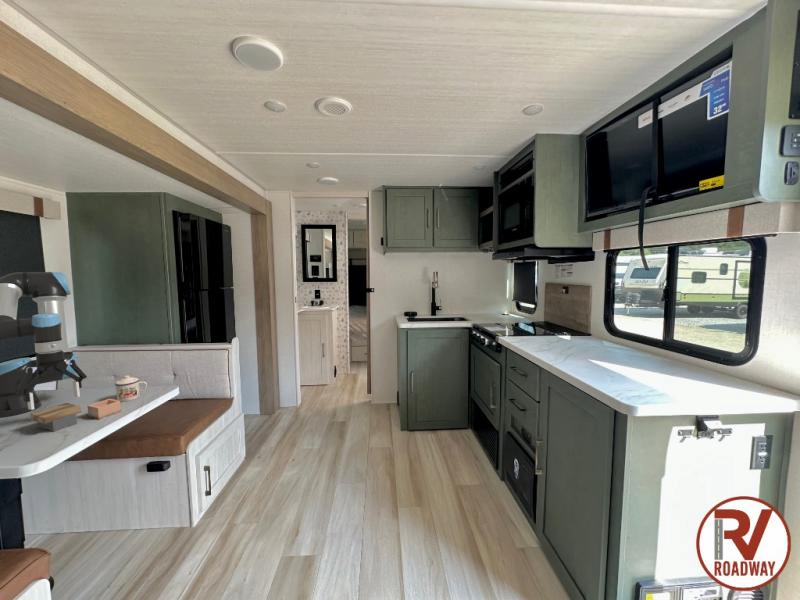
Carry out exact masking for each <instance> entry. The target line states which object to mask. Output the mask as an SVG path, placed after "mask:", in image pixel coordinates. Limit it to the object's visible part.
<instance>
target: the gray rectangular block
mask: <svg viewBox="0 0 800 600" xmlns="http://www.w3.org/2000/svg"><path fill="white" fill-rule="evenodd" d="M77 418H78V417H77V414H75V415H72V416H68V417H65V418H62V419H59V420H56V421H53V422H50V423H47V424H44V423H40V422H37V425H38V427H39V428H42V429H45V430H48V431H51V432H57V431H60V430H63V429H66V428H69V427H71V426H74V425H77V424H78V419H77Z"/></svg>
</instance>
